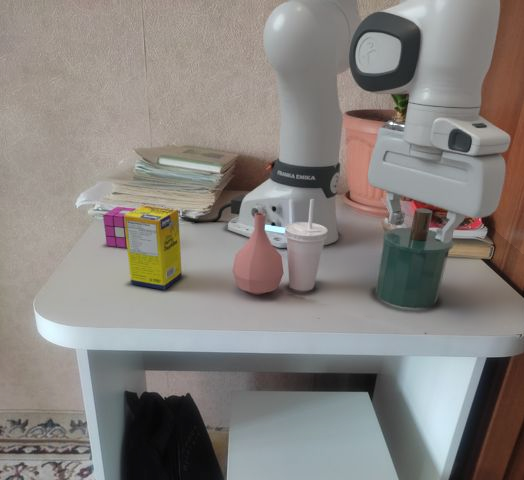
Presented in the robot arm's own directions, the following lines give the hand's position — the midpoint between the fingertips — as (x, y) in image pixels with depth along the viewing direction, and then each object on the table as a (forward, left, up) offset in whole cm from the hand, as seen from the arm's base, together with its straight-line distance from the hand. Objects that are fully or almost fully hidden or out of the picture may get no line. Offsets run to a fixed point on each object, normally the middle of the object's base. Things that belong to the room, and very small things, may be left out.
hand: (418, 232), depth 74 cm
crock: (0, 0, -10) cm, 10 cm away
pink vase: (-20, -12, -10) cm, 25 cm away
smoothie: (-15, -7, -10) cm, 19 cm away
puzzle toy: (-51, -8, -11) cm, 52 cm away
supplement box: (-35, -18, -11) cm, 40 cm away
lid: (0, 0, -1) cm, 1 cm away
